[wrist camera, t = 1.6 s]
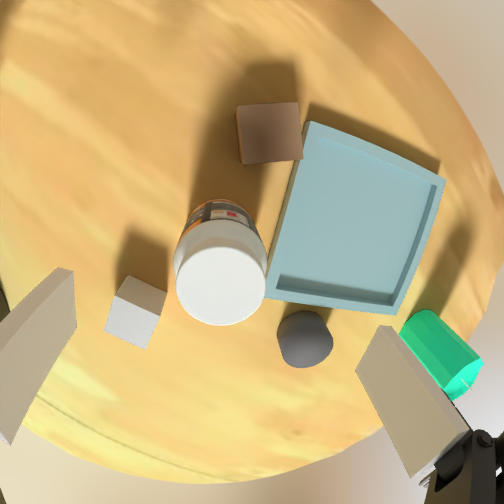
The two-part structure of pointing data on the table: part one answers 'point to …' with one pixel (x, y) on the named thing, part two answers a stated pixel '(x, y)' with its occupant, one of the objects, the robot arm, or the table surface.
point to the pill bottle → (220, 264)
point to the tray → (351, 225)
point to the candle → (441, 353)
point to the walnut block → (269, 132)
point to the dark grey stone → (304, 339)
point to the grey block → (135, 311)
